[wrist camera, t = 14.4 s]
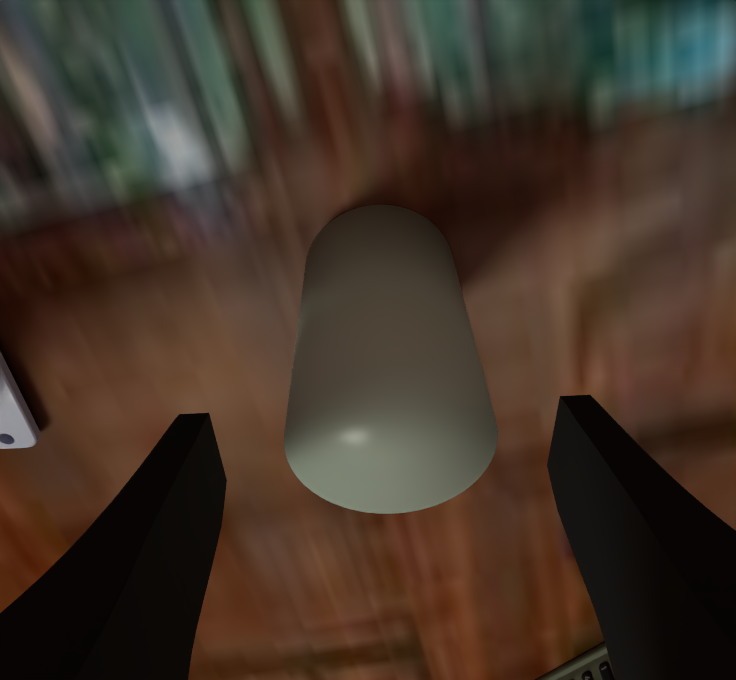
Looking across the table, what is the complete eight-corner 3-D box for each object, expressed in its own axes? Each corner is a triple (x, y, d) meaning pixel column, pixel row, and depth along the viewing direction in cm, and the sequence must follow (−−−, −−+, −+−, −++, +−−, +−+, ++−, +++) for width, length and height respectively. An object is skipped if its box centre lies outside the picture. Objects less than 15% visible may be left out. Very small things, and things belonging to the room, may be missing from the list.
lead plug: (312, 336, 20) (296, 517, 14) (297, 208, 17) (270, 366, 12) (450, 330, 20) (489, 509, 14) (456, 201, 17) (507, 357, 12)
